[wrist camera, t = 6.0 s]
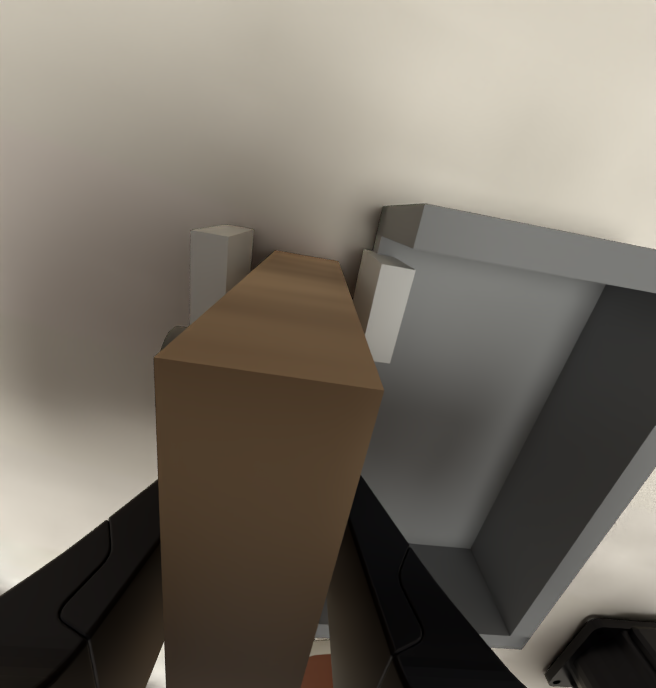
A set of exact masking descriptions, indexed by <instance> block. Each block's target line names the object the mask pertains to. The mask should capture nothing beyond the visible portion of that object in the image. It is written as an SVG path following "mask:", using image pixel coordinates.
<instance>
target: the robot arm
mask: <svg viewBox="0 0 656 688" xmlns="http://www.w3.org/2000/svg"><path fill="white" fill-rule="evenodd" d="M108 520H109V521H108ZM108 520H105V521H104V522H103V523H101V524H100V525H99V526H98V527H96V528H95V529H94V530H93V531H91V532H90V533H89V534H87V535H86V536H85V537H83V538H82V539H81V540H79V541H78V542H77V543H75V544H74V545H73V546H71V547H70V548H69V549H67V550H66V551H65V552H63V553H62V554H60V555H59V556H58V557H56V558H55V559H53V560H52V561H50V562H49V563H48V564H46V565H45V566H43V567H42V568H40V569H39V570H38V571H36V572H35V573H33V574H32V575H30V576H29V577H27V578H26V579H24V580H23V581H21V582H20V583H18V584H17V585H15V586H14V587H13V588H11V589H10V590H8V591H7V592H5V593H4V594H2V595H1V596H0V688H146V685H147V683H148V680H149V678H150V675H151V673H152V670H153V668H154V665H155V663H156V660H157V658H158V655H159V653H160V650H161V648H162V645H163V643H164V619H163V593H162V566H161V540H160V513H159V487H158V480H156V481H155V482H154V483H152V484H151V485H150V486H149V487H147V488H146V489H145V490H144V491H142V492H141V493H140V494H138V495H137V496H136V497H135V498H133V499H132V500H131V501H130V502H128V503H127V504H126V505H125V506H123V507H122V508H121V509H119V510H118V511H117V512H116V513H114V514H113V515H112V516H111V517H109V519H108ZM409 546H410V545H409V543H408V542H407V540H406V539H405V537H404V536H403V535H402V533H401V532H400V530H399V529H398V527H397V526H396V524H395V523H394V522H393V520H392V519H391V517H390V516H389V514H388V513H387V512H386V510H385V509H384V507H383V506H382V504H381V503H380V501H379V500H378V499H377V497H376V496H375V494H374V493H373V491H372V490H371V488H370V487H369V486H368V484H367V483H366V481H365V480H364V478H363V477H362V475H360V478H359V482H358V486H357V489H356V493H355V496H354V500H353V503H352V507H351V510H350V514H349V518H348V521H347V525H346V528H345V532H344V535H343V539H342V542H341V546H340V549H339V553H338V557H337V560H336V564H335V567H334V571H333V574H332V578H331V581H330V585H329V588H328V592H327V596H326V597H327V611H328V624H329V638H330V651H331V664H332V678H333V688H527V687H526V686H525V685H524V684H522V683H521V682H520V681H519V680H518V679H517V678H516V677H515V676H514V675H513V674H512V673H511V672H510V670H509V669H508V668H507V667H506V666H505V665H504V664H503V662H502V661H501V660H500V659H499V658H498V657H497V655H496V654H495V653H494V652H493V651H492V649H491V648H490V647H489V646H488V644H487V643H486V642H485V641H484V640H483V638H482V637H481V636H480V635H479V634H478V632H477V631H476V630H475V629H474V628H473V626H472V625H471V624H470V623H469V622H468V620H467V619H466V618H465V617H464V616H463V614H462V613H461V612H460V611H459V610H458V608H457V607H456V606H455V605H454V603H453V602H452V601H451V600H450V598H449V597H448V596H447V595H446V593H445V592H444V591H443V590H442V588H441V587H440V586H439V585H438V583H437V582H436V581H435V580H434V578H433V577H432V575H431V574H430V573H429V571H428V570H427V569H426V567H425V566H424V564H423V563H422V562H421V560H420V559H419V557H418V556H417V555H416V553H415V552H414V550H413V549H412V548H411V547H409ZM545 677H546V679H547V681H548V684H549V685H550V686H559V687H572V688H656V623H654V622H639V621H625V620H611V619H593V620H591V621H589V622H588V623H586V625H585V626H584V627H583V628H582V629H581V631H580V632H579V633H578V634H577V636H576V637H575V638H574V639H573V640H572V642H571V643H570V644H569V645H568V646H567V648H566V649H565V650H564V651H563V652H562V654H561V655H560V656H559V657H558V658H557V660H556V661H555V662H554V663H553V665H552V666H551V667H550V668H549V669H548V671H547V672H546V673H545Z"/></svg>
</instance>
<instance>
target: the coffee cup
mask: <svg viewBox="0 0 656 688" xmlns="http://www.w3.org/2000/svg"><path fill="white" fill-rule="evenodd" d="M301 688H333V678H332V664H331V651H330V640H321V641H314V642H313V645H312V649H311V652H310V656H309V659H308V663H307V667H306V670H305V674H304V677H303V681H302V684H301Z"/></svg>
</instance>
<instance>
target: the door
mask: <svg viewBox="0 0 656 688" xmlns="http://www.w3.org/2000/svg"><path fill="white" fill-rule="evenodd" d="M154 381H155V407H156V434H157V460H158V487H159V513H160V540H161V566H162V593H163V619H164V646H165V673H166V688H301V684H302V681H303V677H304V674H305V670H306V667H307V663H308V659H309V656H310V652H311V649H312V645H313V642H314V638H315V635H316V631H317V628H318V624H319V620H320V617H321V613H322V610H323V606H324V603H325V599H326V596H327V592H328V588H329V585H330V581H331V578H332V574H333V571H334V567H335V564H336V560H337V557H338V553H339V549H340V546H341V542H342V539H343V535H344V532H345V528H346V525H347V521H348V518H349V514H350V510H351V507H352V503H353V500H354V496H355V493H356V489H357V486H358V482H359V478H360V475H361V471H362V468H363V464H364V461H365V457H366V454H367V450H368V447H369V443H370V439H371V436H372V432H373V429H374V425H375V422H376V418H377V415H378V411H379V407H380V404H381V400H382V397H383V393H384V388H383V385H382V383H381V380H380V377H379V374H378V371H377V368H376V366H375V363H374V360H373V357H372V354H371V352H370V349H369V346H368V343H367V340H366V337H365V335H364V332H363V329H362V326H361V323H360V321H359V318H358V315H357V312H356V309H355V306H354V304H353V301H352V298H351V295H350V292H349V290H348V287H347V284H346V281H345V278H344V275H343V273H342V270H341V267H340V264H339V261H334V260H328V259H322V258H317V257H311V256H305V255H300V254H294V253H288V252H283V251H277V250H275V251H274V252H273V253H272V254H271V255H270V256H268V257H267V258H266V259H265V260H264V261H263V262H262V263H260V264H259V265H258V266H257V267H256V268H255V269H254V270H252V271H251V272H250V273H249V274H248V275H247V276H246V277H244V278H243V279H242V280H241V281H240V282H239V283H238V284H237V285H235V286H234V287H233V288H232V289H231V290H230V291H229V292H227V293H226V294H225V295H224V296H223V297H222V298H221V299H219V300H218V301H217V302H216V303H215V304H214V305H213V306H211V307H210V308H209V309H208V310H207V311H206V312H205V313H203V314H202V315H201V316H200V317H199V318H198V319H197V320H196V321H194V322H193V323H192V324H191V325H190V326H189V327H188V328H187V327H180V326H176V327H174V328H173V329H171V331H170V332H169V333H168V335H167V336H166V338H165V340H164V342H163V345H162V348H161V351H160V352H159V353H158V354H157V355H156V356H155V357H154Z"/></svg>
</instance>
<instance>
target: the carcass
mask: <svg viewBox="0 0 656 688" xmlns="http://www.w3.org/2000/svg"><path fill="white" fill-rule="evenodd" d="M253 235H254V229H250V228H244V227H239V226H233V225H228V224H226V225H220V226H213V227H207V228H200V229H194V230H190V320H189V326H190V325H191V324H192V323H193V322H194V321H196V320H197V319H198V318H199V317H200V316H201V315H202V314H203V313H205V312H206V311H207V310H208V309H209V308H210V307H211V306H213V305H214V304H215V303H216V302H217V301H218V300H219V299H221V298H222V297H223V296H224V295H225V294H226V293H227V292H229V291H230V290H231V289H232V288H233V287H234V286H235V285H237V284H238V283H239V282H240V281H241V280H242V279H243V278H244V277H246V276H247V275H248V274H249V273H250V271H251V259H252V247H253ZM353 304H354V306H355V309H356V312H357V315H358V318H359V321H360V323H361V326H362V329H363V332H364V335H365V337H366V340H367V343H368V346H369V349H370V352H371V354H372V357H373V360H374V363H375V366H376V368H377V371H378V374H379V377H380V380H381V383H382V385H383V388H384V393H383V397H382V400H381V404H380V407H379V411H378V415H377V418H376V422H375V425H374V429H373V432H372V436H371V439H370V443H369V447H368V450H367V454H366V457H365V461H364V464H363V468H362V471H361V475H362V477H363V478H364V480H365V481H366V483H367V484H368V486H369V487H370V488H371V490H372V491H373V493H374V494H375V496H376V497H377V499H378V500H379V501H380V503H381V504H382V506H383V507H384V509H385V510H386V512H387V513H388V514H389V516H390V517H391V519H392V520H393V522H394V523H395V524H396V526H397V527H398V529H399V530H400V532H401V533H402V535H403V536H404V537H405V539H406V540H407V542H408V543H409V545H410V546H409V547H411V548H412V549H413V550H414V552H415V553H416V555H417V556H418V557H419V559H420V560H421V562H422V563H423V564H424V566H425V567H426V569H427V570H428V571H429V573H430V574H431V575H432V577H433V578H434V580H435V581H436V582H437V583H438V585H439V586H440V587H441V588H442V590H443V591H444V592H445V593H446V595H447V596H448V597H449V598H450V600H451V601H452V602H453V603H454V605H455V606H456V607H457V608H458V610H459V611H460V612H461V613H462V614H463V616H464V617H465V618H466V619H467V620H468V622H469V623H470V624H471V625H472V626H473V628H474V629H475V630H476V631H477V632H478V634H479V635H480V636H481V637H482V638H483V640H484V641H485V642H486V643H487V644H488V646H489V647H490V648H506V649H522V648H523V647H524V646H525V644H526V643H527V642H528V640H529V639H530V638H531V636H532V635H533V633H534V632H535V631H536V629H537V628H538V627H539V625H540V624H541V623H542V621H543V620H544V618H545V617H546V616H547V614H548V613H549V612H550V610H551V609H552V608H553V606H554V605H555V604H556V602H557V601H558V599H559V598H560V597H561V595H562V594H563V593H564V591H565V590H566V589H567V587H568V586H569V584H570V583H571V582H572V580H573V579H574V578H575V576H576V575H577V574H578V572H579V571H580V569H581V568H582V567H583V565H584V564H585V563H586V561H587V560H588V559H589V557H590V556H591V555H592V553H593V552H594V550H595V549H596V548H597V546H598V545H599V544H600V542H601V541H602V540H603V538H604V537H605V535H606V534H607V533H608V531H609V530H610V529H611V527H612V526H613V525H614V523H615V522H616V520H617V519H618V518H619V516H620V515H621V514H622V512H623V511H624V510H625V508H626V507H627V506H628V504H629V503H630V501H631V500H632V499H633V497H634V496H635V495H636V493H637V492H638V491H639V489H640V488H641V486H642V485H643V484H644V482H645V481H646V480H647V478H648V477H649V476H650V474H651V473H652V471H653V470H654V469H655V467H656V249H651V248H646V247H641V246H636V245H631V244H626V243H621V242H616V241H610V240H605V239H600V238H595V237H590V236H585V235H580V234H575V233H570V232H565V231H560V230H555V229H550V228H545V227H540V226H535V225H530V224H525V223H520V222H515V221H510V220H505V219H500V218H495V217H490V216H485V215H480V214H475V213H470V212H465V211H460V210H455V209H450V208H445V207H440V206H435V205H430V204H410V205H395V206H383V208H382V212H381V217H380V221H379V226H378V230H377V235H376V239H375V244H374V248H373V251H371V250H366V249H364V250H363V254H362V259H361V264H360V269H359V273H358V278H357V283H356V288H355V292H354V297H353ZM315 638H329V624H328V611H327V597H326V599H325V603H324V606H323V610H322V613H321V617H320V620H319V624H318V628H317V631H316V635H315Z"/></svg>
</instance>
